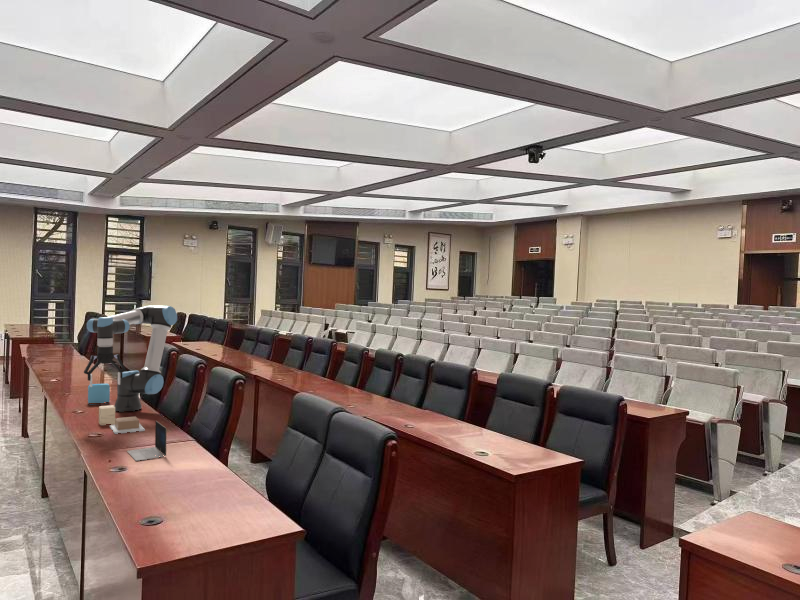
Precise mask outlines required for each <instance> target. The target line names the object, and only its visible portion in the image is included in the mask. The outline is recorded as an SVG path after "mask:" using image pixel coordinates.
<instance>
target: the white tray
mask: <svg viewBox="0 0 800 600" xmlns="http://www.w3.org/2000/svg"><path fill="white" fill-rule="evenodd" d="M109 428H110V430H111V431H112V430H113V431H112V432H113V433H114V435H119V434H118V433H121V434H127V432H130V433H137V432H136V431H139V432H145V431H146V429H145V428H144V427H143V426H142V424H141V423H140V419H139V418H138V417H137V416H136V415H135V416H128V417H127V416H126V417H117V418H116V417H115V424H111V425H109Z"/></svg>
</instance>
